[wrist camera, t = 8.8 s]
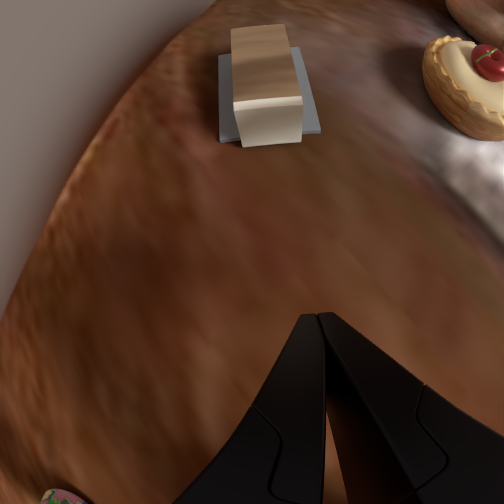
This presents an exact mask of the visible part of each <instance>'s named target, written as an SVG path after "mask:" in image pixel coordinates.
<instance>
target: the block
mask: <svg viewBox="0 0 504 504" xmlns="http://www.w3.org/2000/svg"><path fill="white" fill-rule="evenodd" d="M231 52H232V79H233V105H234V114H235V118H236V122H237V126H238V130H239V134H240V138H241V142H242V147H249V146H259V145H270V144H281V143H294V142H301V138H302V120H303V101H302V96H301V92H300V87H299V83H298V78H297V74H296V70H295V66H294V61H293V57H292V53H291V49H290V45H289V41H288V37H287V34H286V30H285V26H284V24H276V25H263V26H253V27H244V28H235V29H231Z"/></svg>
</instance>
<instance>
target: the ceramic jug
mask: <svg viewBox="0 0 504 504" xmlns="http://www.w3.org/2000/svg"><path fill="white" fill-rule="evenodd" d="M446 7H447V9H448V11H449V13H450V15H451V16H452V17H453V19H454V20H455V21H456V22H457V23H458V24H459V25H460V27H461V28H463V29H464V30H465V31H466V32H467V33H468V34H469V35H470V36H472V37H473V38H474V39H475V40H477V41H478V42H479V43H481V44H486V45H490V46H492V47H494V48H497V49H498V50H499V51H501V52H502V53H503V54H504V0H446Z"/></svg>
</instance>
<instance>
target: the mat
mask: <svg viewBox="0 0 504 504" xmlns="http://www.w3.org/2000/svg"><path fill="white" fill-rule="evenodd" d="M290 49H291V53H292V57H293V61H294V66H295V70H296V74H297V78H298V83H299V87H300V92H301V96H302V101H303V120H302V134H314V133H321V128H320V124H319V120H318V116H317V112H316V107H315V103H314V99H313V96H312V92H311V88H310V84H309V80H308V77H307V73H306V70H305V66H304V62H303V59H302V56H301V52H300V49H299V47H290ZM218 76H219V135H220V143H224V142H231V141H239V140H241V138H240V134H239V130H238V126H237V122H236V118H235V114H234V105H233V79H232V53H230V54H223V55H218Z"/></svg>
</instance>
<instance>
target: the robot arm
mask: <svg viewBox="0 0 504 504" xmlns="http://www.w3.org/2000/svg"><path fill="white" fill-rule="evenodd" d="M326 410H327V414H328V418H329V422H330V426H331V430H332V434H333V439H334V443H335V447H336V451H337V455H338V459H339V464H340V468H341V472H342V476H343V481H344V485H345V490H346V494H347V499H348V503H349V504H504V436H502V435H500V434H499V433H497V432H495V431H494V430H492V429H490V428H489V427H487V426H486V425H484V424H482V423H481V422H479V421H477V420H476V419H474V418H473V417H471V416H470V415H468V414H466V413H465V412H463V411H462V410H460V409H459V408H457V407H456V406H454V405H453V404H452V403H450V402H449V401H448V400H446V399H445V398H444V397H442V396H441V395H439V394H438V393H437V392H436V391H434V390H433V389H432V388H430V387H429V386H428V385H424V383H423V382H422V381H421V380H419V379H418V378H417V377H416V376H414V375H413V374H412V373H410V372H409V371H408V370H407V369H405V368H404V367H403V366H401V365H400V364H399V363H398V362H396V361H395V360H394V359H393V358H391V357H390V356H389V355H387V354H386V353H385V352H384V351H382V350H381V349H380V348H378V347H377V346H376V345H375V344H373V343H372V342H371V341H370V340H368V339H367V338H366V337H364V336H363V335H362V334H361V333H359V332H358V331H357V330H355V329H354V328H353V327H352V326H350V325H349V324H348V323H347V322H345V321H344V320H343V319H341V318H340V317H339V316H338V315H336V314H335V313H333V312H324V313H318V314H317V315H316V314H314V313H313V314H302V315H300V317H299V318H298V320H297V322H296V324H295V326H294V328H293V330H292V332H291V334H290V336H289V338H288V339H287V341H286V343H285V345H284V347H283V349H282V351H281V353H280V354H279V356H278V358H277V360H276V362H275V364H274V365H273V367H272V369H271V371H270V373H269V374H268V376H267V378H266V380H265V382H264V383H263V385H262V387H261V389H260V390H259V392H258V394H257V396H256V397H255V399H254V401H253V403H252V404H251V407H249V409H248V410H247V412H246V414H245V415H244V417H243V419H242V420H241V422H240V423H239V425H238V426H237V428H236V429H235V431H234V432H233V434H232V435H231V437H230V438H229V440H228V441H227V442H226V443H225V445H224V446H223V447H222V448H221V450H220V451H219V452H218V453H217V455H216V456H215V457H214V458H213V460H212V461H211V462H210V463H209V464H208V465H207V466H206V467H205V469H204V470H203V471H202V472H201V473H200V474H199V475H198V476H197V477H196V478H195V480H194V481H193V482H192V483H191V484H190V485H189V486H188V487H187V488H186V489H185V490H184V491H183V492H182V493H181V494H180V495H179V496H178V498H177V499H176V500H175V501H174V502H173V503H172V504H322V502H323V487H324V469H325V443H326Z"/></svg>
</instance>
